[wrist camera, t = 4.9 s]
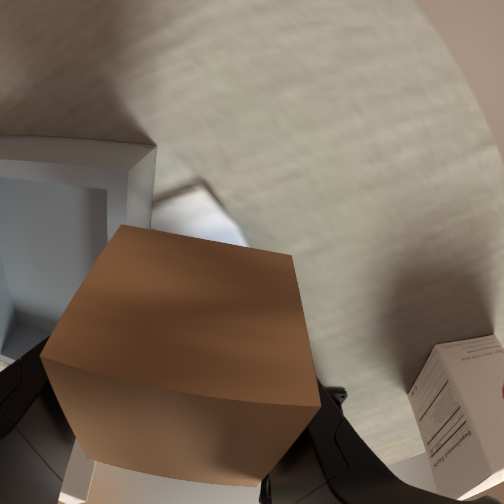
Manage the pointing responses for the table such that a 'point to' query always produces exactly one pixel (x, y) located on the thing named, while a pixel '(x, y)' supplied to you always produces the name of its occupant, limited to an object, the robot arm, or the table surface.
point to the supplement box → (462, 415)
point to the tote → (61, 223)
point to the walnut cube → (185, 358)
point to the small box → (77, 477)
